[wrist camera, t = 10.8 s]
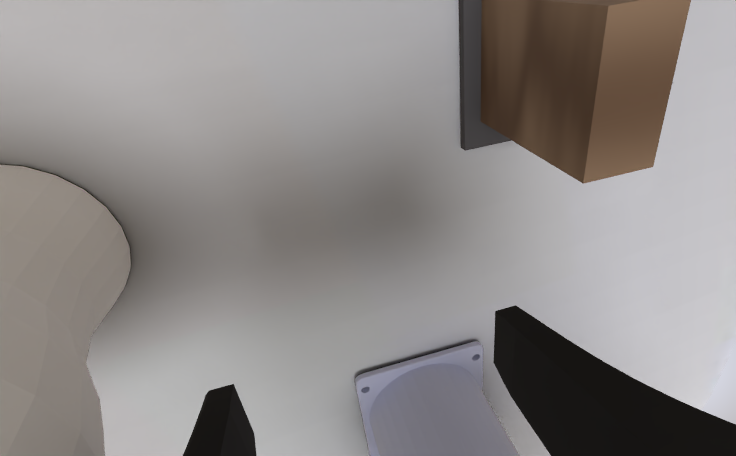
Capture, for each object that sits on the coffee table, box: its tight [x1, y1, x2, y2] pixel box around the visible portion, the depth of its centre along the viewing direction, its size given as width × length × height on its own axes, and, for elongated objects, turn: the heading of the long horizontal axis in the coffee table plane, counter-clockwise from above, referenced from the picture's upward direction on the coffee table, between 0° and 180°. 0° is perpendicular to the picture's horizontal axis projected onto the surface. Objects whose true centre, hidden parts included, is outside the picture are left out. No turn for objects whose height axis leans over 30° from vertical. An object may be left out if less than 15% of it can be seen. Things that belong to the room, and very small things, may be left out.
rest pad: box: [459, 0, 511, 150], centre depth 19 cm, size 7×4×1 cm, turn 8°
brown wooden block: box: [481, 0, 691, 183], centre depth 16 cm, size 5×2×7 cm, turn 8°
